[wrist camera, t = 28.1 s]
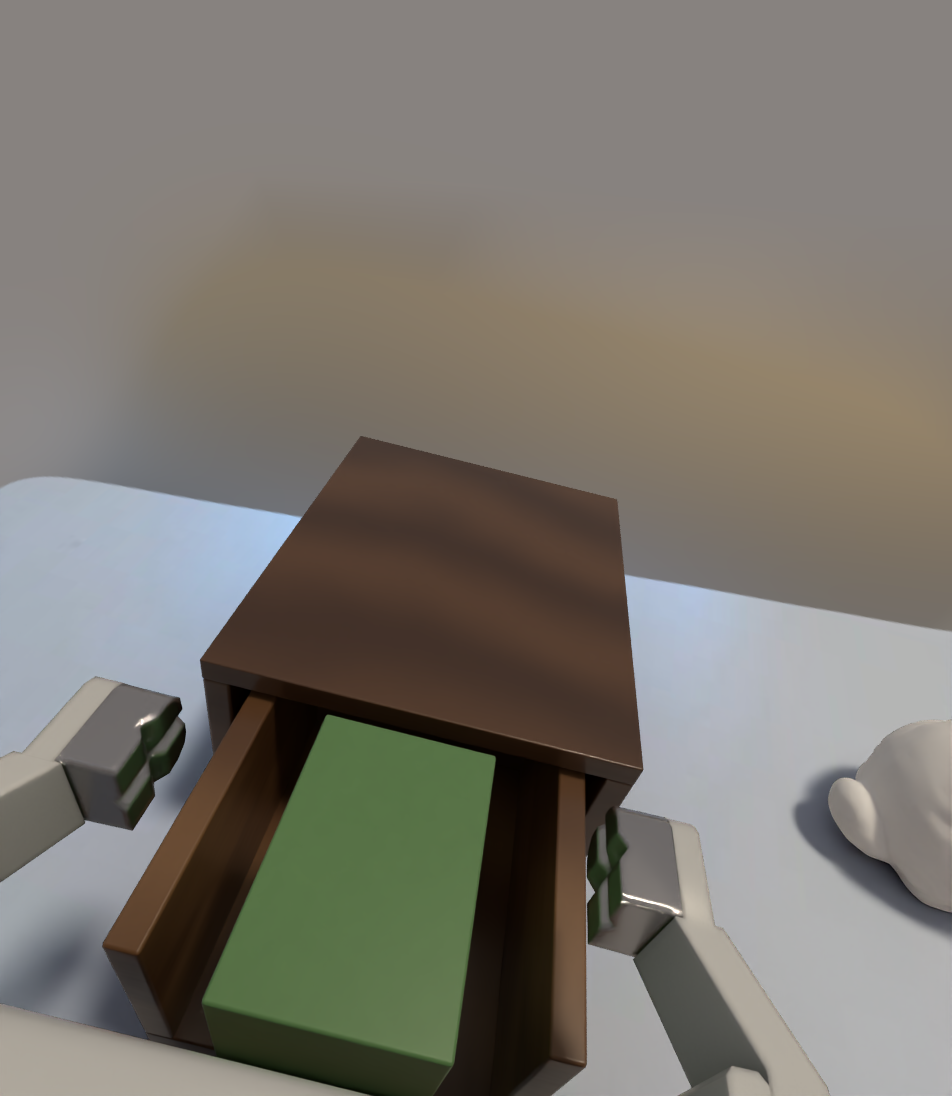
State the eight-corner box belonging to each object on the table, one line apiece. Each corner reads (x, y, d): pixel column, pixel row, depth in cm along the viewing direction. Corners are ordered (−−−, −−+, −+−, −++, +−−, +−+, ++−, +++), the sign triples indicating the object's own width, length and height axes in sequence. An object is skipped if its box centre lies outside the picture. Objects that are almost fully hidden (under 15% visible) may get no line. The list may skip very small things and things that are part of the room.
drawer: (503, 1749, 10) (674, 2096, 6) (-150, 1584, 10) (-494, 1799, 6) (550, 777, 25) (606, 662, 20) (288, 711, 25) (288, 583, 20)
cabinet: (553, 907, 21) (644, 770, 16) (221, 824, 21) (199, 659, 16) (563, 631, 33) (617, 499, 28) (348, 578, 33) (360, 435, 28)
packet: (232, 1119, 14) (199, 1003, 9) (315, 885, 19) (326, 712, 13) (391, 1159, 14) (454, 1067, 9) (436, 915, 19) (496, 755, 13)
